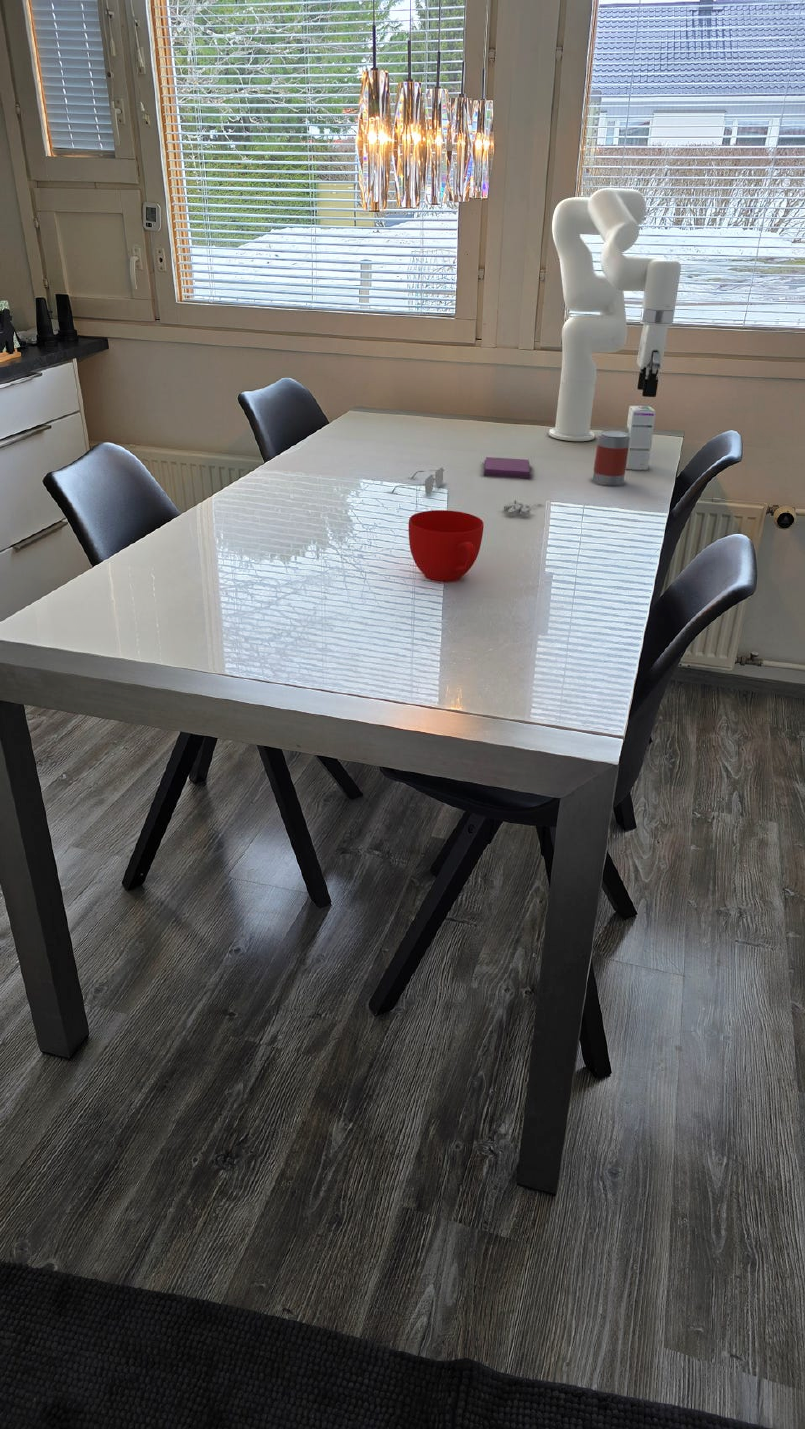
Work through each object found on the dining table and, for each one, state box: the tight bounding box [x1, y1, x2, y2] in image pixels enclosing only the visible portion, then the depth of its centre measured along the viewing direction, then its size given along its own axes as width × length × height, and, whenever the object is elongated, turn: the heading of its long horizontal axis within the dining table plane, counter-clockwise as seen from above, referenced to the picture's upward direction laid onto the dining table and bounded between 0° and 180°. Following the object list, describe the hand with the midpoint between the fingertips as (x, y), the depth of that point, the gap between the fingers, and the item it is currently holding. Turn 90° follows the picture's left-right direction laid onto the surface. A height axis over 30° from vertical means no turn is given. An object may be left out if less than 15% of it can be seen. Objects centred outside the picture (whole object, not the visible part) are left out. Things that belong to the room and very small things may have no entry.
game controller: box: [503, 499, 541, 518], centre depth 213 cm, size 6×12×3 cm, turn 158°
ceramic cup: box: [408, 509, 485, 583], centre depth 173 cm, size 13×17×10 cm
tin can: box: [592, 430, 630, 487], centre depth 235 cm, size 7×7×11 cm
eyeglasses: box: [391, 467, 445, 496], centre depth 226 cm, size 14×8×4 cm, turn 160°
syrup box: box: [625, 405, 657, 471], centre depth 248 cm, size 6×6×14 cm
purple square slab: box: [483, 456, 531, 480], centre depth 242 cm, size 12×11×2 cm
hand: (646, 393), depth 242 cm, fingers open, 9 cm apart
